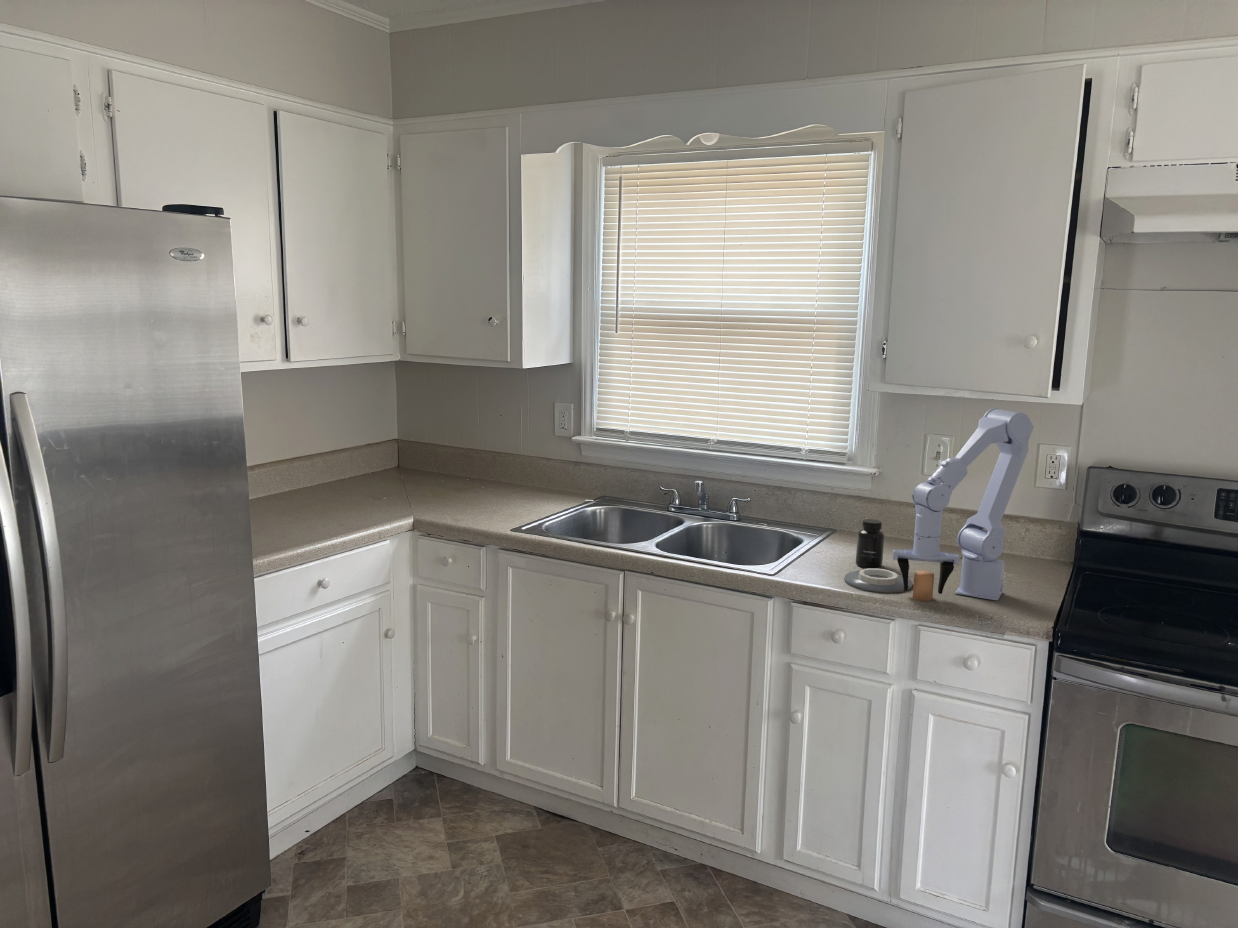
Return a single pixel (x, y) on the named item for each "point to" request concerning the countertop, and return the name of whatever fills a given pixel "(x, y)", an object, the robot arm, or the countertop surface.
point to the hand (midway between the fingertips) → (922, 591)
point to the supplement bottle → (870, 544)
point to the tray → (876, 580)
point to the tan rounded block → (923, 585)
